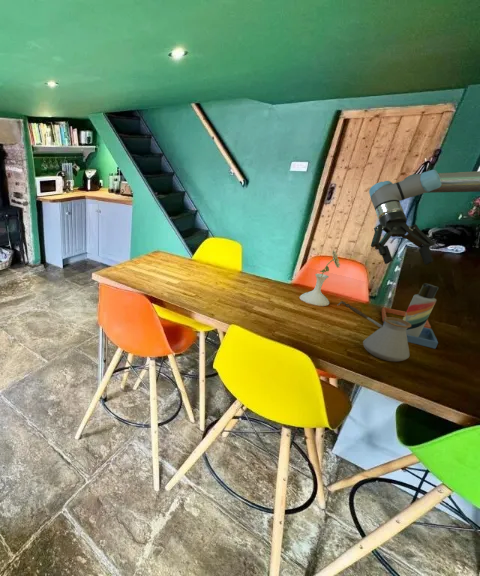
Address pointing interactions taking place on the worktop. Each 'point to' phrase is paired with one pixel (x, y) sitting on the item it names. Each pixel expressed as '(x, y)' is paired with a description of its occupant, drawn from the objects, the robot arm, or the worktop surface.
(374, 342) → the coffee pot
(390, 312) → the terracotta tray
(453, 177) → the robot arm
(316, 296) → the flower in vase
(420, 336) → the blue tray
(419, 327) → the lotion bottle
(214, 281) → the worktop surface
